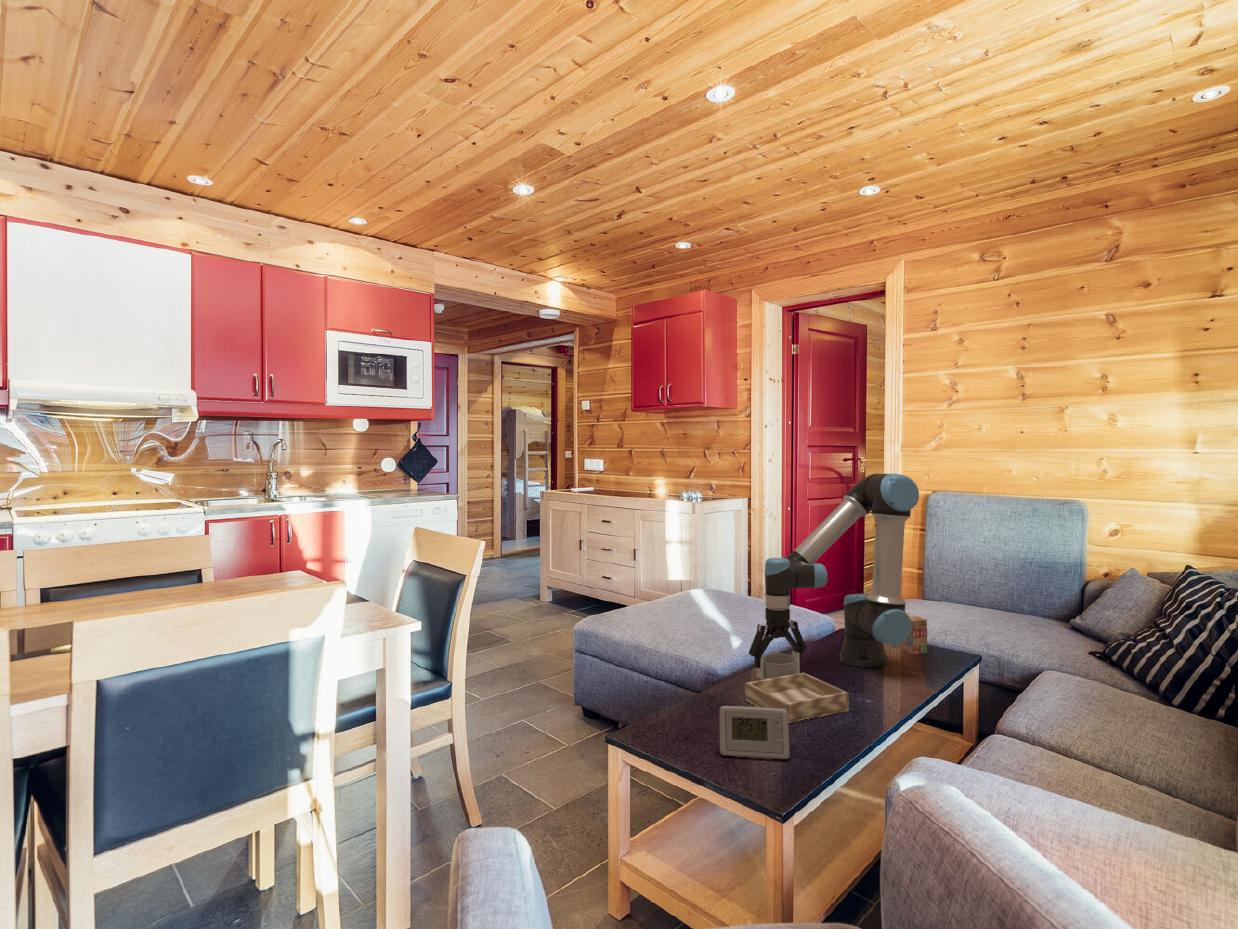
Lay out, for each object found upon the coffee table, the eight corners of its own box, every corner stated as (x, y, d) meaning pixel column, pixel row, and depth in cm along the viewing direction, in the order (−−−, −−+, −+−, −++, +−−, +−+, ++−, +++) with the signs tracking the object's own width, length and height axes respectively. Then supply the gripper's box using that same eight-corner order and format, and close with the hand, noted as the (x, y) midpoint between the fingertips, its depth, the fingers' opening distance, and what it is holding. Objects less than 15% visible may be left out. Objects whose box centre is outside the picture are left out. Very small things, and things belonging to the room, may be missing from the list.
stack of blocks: (875, 639, 246) (874, 607, 246) (889, 638, 247) (888, 606, 247) (912, 655, 225) (912, 620, 225) (928, 653, 227) (927, 619, 227)
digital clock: (716, 756, 150) (715, 711, 150) (725, 741, 158) (724, 698, 158) (787, 767, 144) (786, 720, 144) (792, 750, 152) (791, 706, 152)
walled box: (804, 689, 193) (803, 672, 193) (848, 710, 175) (848, 692, 175) (745, 700, 185) (745, 682, 185) (786, 724, 167) (785, 705, 167)
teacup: (798, 690, 192) (798, 663, 192) (761, 688, 195) (761, 662, 195) (795, 675, 206) (794, 650, 206) (761, 673, 208) (760, 649, 208)
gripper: (801, 601, 209) (802, 666, 209) (737, 608, 199) (737, 676, 199) (817, 606, 202) (818, 673, 202) (750, 614, 192) (751, 684, 192)
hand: (778, 675), depth 200 cm, fingers open, 13 cm apart
